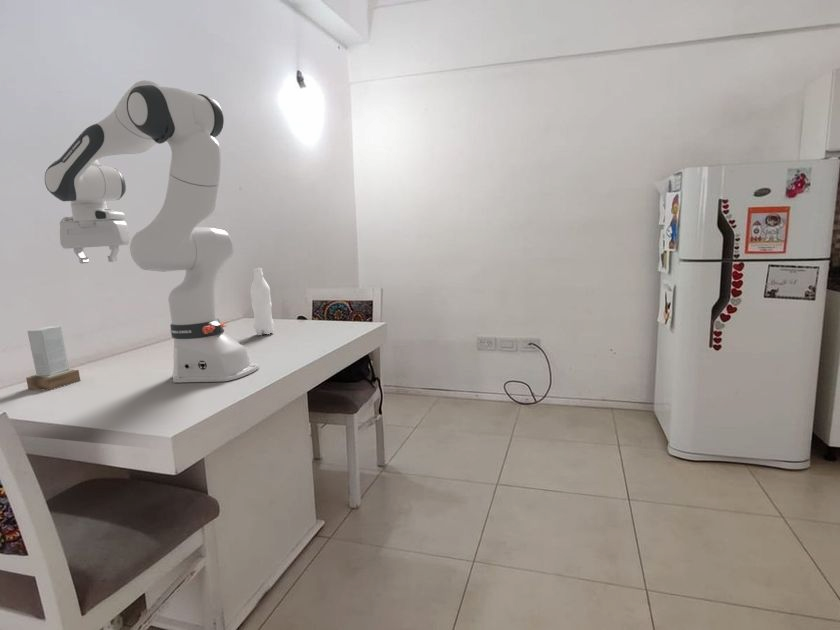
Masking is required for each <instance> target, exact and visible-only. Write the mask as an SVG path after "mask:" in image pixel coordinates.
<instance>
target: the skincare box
mask: <svg viewBox="0 0 840 630" xmlns="http://www.w3.org/2000/svg"><path fill="white" fill-rule="evenodd" d="M27 336H28V340H29V341H28V342H29V344H30V345H29V346H30V352H31V355H32V359H33V365H34V369H35V375H37V376H50V375H53V374H56V373H59V372H62V371H65V370H68V369H69V368H70V367H69V363H68V357H67V353H66V347H65V342H64V341H65V340H64V337H63V331H62V326H61V325H56V326H55V325H52V326H51V325H50V326H44V327H41V328H40V327H39V328H34V329H31V330H28V331H27Z"/></svg>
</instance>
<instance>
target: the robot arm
mask: <svg viewBox="0 0 840 630" xmlns="http://www.w3.org/2000/svg"><path fill="white" fill-rule="evenodd" d="M224 119H225V118H224V113H223V109H222V108H221V106H220V104H219V102H217V101H216V100H215V99H213V98H211V97H210V96H207V95H205V94H201V93H198V94H197V93H193V92H191V91H186V90H182V89H180V88H176V87H168V86H167V87H166V86H161V85H160V84H158V83H156V82H154V81H151V80H139V81H136V82H135V83H134V84H132V85H131V87H130V88H129V89H128V90H126V92H125V93H124V94H123V96H122V97H121V99H120V100H119V101H118V103H117V104H116V106H115V107H114V110H112V112H110V114H108V115H107V116H106V117H104V119H102V120H100V121H98V122H95V124H92V125H90V126H88V127H87V128H85V129H84V130H82V132H81V133H80V135H79V136H78V137H76V139H75V140H74V141H73V142H72V144H70V146H69V147H68V148H67V149H66V151H65V152H64V153H63V154H62V156H61V157H59V159H57V160H55V161H54V162H52V164H50V165H49V166H48V167H47V169H46V171H45V172H44V184H45V187H46V189H47V191H48V192H49V193H50V194H51V195H52V196H54V197H55V198H56V199H58V200H59V201H61V202H70V209H71V214H72V216H64V217H63V218H62V219H61V220H60V222H59V240H60V241H59V242H60V245H61V247H62V248H63V249H67V250H69V249H73V252H74V254H75V255H76V256H77V258H78V261H79V263H80V264H88V263H89V262H90V261H89V256H85V254H84V249H85V248H97V247H98V248H99V247H108V248H109V250H110V254H109V255H107V259H108V260H107V261H108V262H110V263H113V262H118V259H117V258H118V256H117V255H118V253H119V252H120V251H119V250H120V247H119V246H128V245H130V246H129V253H130V257H131V258H132V260H133V262H134V263H135V264H136V266H137V267H139V268H140V269H141V270H144V271H151V272H160V273H161V272H163V273H165V272H175V271H185V274H184V275H185V276H184V278H183V280H182V282H181V283H180V284H178V285H177V286H175V287H174V288H173V289H172V290H171V291H170V293H169V296H168V305H169V313H170V321H171V324H170V334H171V338H172V339H173V370H172V376H171V377H172V383H210V382H212V383H215V382H229V381H232V380H233V381H234V380H237V379H240V378H242V377H245V376H247V375H250V374H252V373H255V372H256V371H257V370H259V368H260V366H259V363H254V362H250V358H249V354H248V351H247V348H246V347H245V346H244V345H242V344H240V343H239V342H238V341H237V340H235V339H233V338H232V337H231V336H230V335H228V334H227V333H225V329H224V328H225V327H227V325H226V324H227V322H222V323H221V321H220V320H219V318H218V317H217V315H218V314H217V309H216V307H217V306H216V296H215V295H216V286H217V281H218V278H219V276H220V273H221V271H222V270H223V268H225V266H226V265H227V264H228V263H229V262H230V261H231V260H232V257H233V255H234V250H235V249H234V242H233V240H232V237H231V236H230V234H229V233H228V232H227V231H225V230H224V229H221V228H220V229H219V228H216V227H210V226H197V225H199V224H200V223H202V222H203V221H205V220H206V219H208V218H210V217H211V216H212V215H213V213H214V211H215V209H216V204H217V197H218V191H219V184H220V179H221V178H220V177H221V164H222V163H221V147H220V144H219V141H218V140H217V139H216V137H218V136H219V135H220V134H221V133H222V130H223V128H224ZM165 142H167V143H168V146H169V147H170V150H171V160H170V166H169V172H168V173H169V175H168V182H167V188H166V195H165V199H164V202H163V204H162V207H161V208H160V210H159V212H158V214H157V215H156V216H155V218H154V219H153V220H152V221H151V222H150V223H149V224H148V225H146V226H145V227H144V228H143V229H141V230H139V231H137V232H136V233H135V234H134V235H133V236H132V238H131V237H130V231H129V227H128V224H127V223H126V221H125V220H126V215H125V213H124V212H121V211H118V210H114V209H111V208H108V205H107V204H108V203H107V202H114V201H119V200H120V199H121V198H123V196H124V195H125V193H126V191H127V189H126V187H127V186H126V180H125V177H124V176H123V174H122V173H121V172H120V171H119V170H118V168H115V167H111V166H107V165H104V164H102V163H100V162H99V159H100V158H105V157H111V156H118V155H135V154H136V155H137V154H142V153H145V152H147V151H149V150H150V149H151V148H153V147H154V146H155V145H156V144H159V145H160V144H164V143H165Z"/></svg>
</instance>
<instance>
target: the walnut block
mask: <svg viewBox="0 0 840 630" xmlns="http://www.w3.org/2000/svg"><path fill="white" fill-rule="evenodd" d="M25 379H26V384H27V388H28V390H39V389H44V391H52V390H55V389H54V388H56V389H58V388H57V387H59V388H61V387H60V386H62V387H65V386H67V384H69V385H71V383H72V384H75V383H78V382H81V375H80V371H79V369H71V368H70V369H68V370H65V371H62V372H59V373H56V374H53V375H50V376H37V375H36V374H33V375H30V376H28V377H26V378H25ZM74 382H75V383H74ZM64 385H65V386H64ZM51 389H52V390H51Z"/></svg>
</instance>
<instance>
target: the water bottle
mask: <svg viewBox="0 0 840 630" xmlns="http://www.w3.org/2000/svg"><path fill="white" fill-rule="evenodd" d="M252 271H253V280H252V283H251V286H250V289H249V292H250V299H251V309H252V312H253V317H254V319H253V320H254V323H253V328H254V332H255V333H256V335H258V336H259V335H261V336H263V334H269V335H271V334H270V333H272V332H273V333H274V329H275V323H274V320H273V315H272V306H273V304H272V297H271V296H272V295H271V288H270V285H269V284H268V282H267V281H266V279H265V278H264V272H263V268H262V267H257V268H256V267H254V268H253V270H252ZM273 333H272V334H273Z"/></svg>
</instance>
